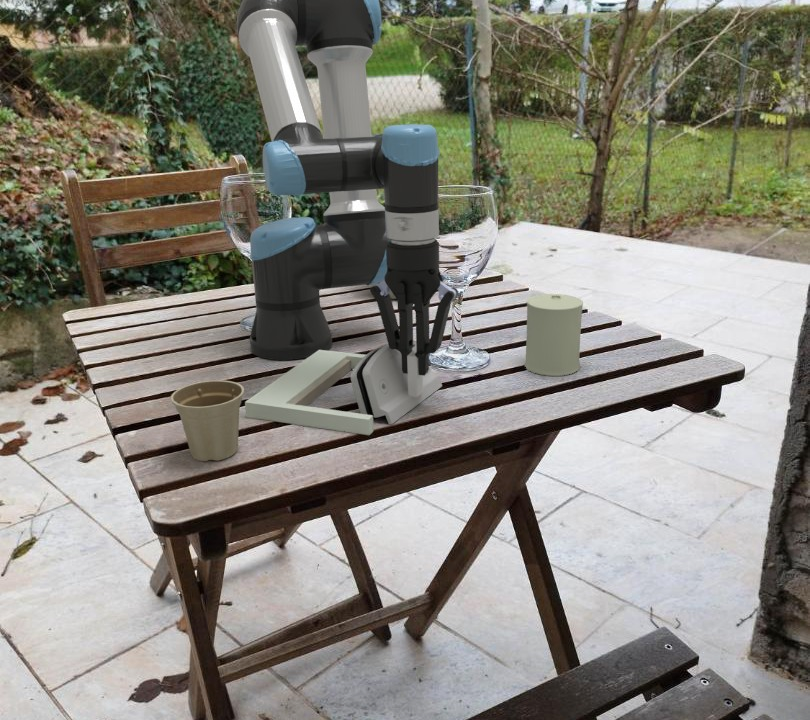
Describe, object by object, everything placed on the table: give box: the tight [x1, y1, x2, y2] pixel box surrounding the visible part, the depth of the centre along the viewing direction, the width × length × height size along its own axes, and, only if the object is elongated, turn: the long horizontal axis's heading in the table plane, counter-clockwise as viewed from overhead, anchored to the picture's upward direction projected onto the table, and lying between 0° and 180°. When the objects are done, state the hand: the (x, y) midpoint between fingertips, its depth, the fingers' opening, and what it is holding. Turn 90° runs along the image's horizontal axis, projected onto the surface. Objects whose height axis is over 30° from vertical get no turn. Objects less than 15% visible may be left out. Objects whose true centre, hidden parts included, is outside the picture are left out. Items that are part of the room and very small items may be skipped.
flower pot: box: [170, 379, 245, 462], centre depth 102 cm, size 9×9×9 cm
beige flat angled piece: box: [244, 350, 374, 436], centre depth 120 cm, size 20×24×2 cm
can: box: [524, 293, 584, 377], centre depth 128 cm, size 9×9×12 cm
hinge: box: [350, 340, 443, 425], centre depth 117 cm, size 17×5×10 cm, turn 150°
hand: (415, 393), depth 116 cm, fingers closed
